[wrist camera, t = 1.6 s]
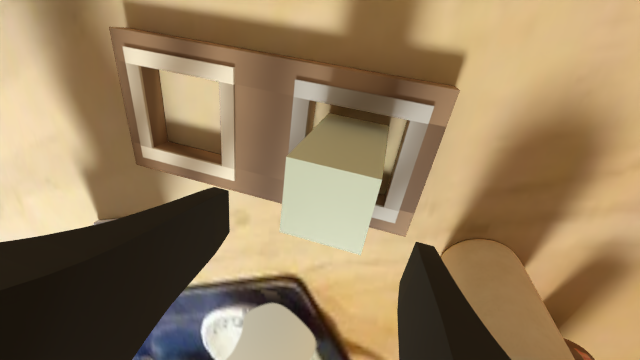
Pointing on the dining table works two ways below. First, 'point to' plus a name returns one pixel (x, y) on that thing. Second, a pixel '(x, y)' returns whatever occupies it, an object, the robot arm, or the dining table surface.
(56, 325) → the robot arm
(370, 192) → the peg
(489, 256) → the candle
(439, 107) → the socket board
